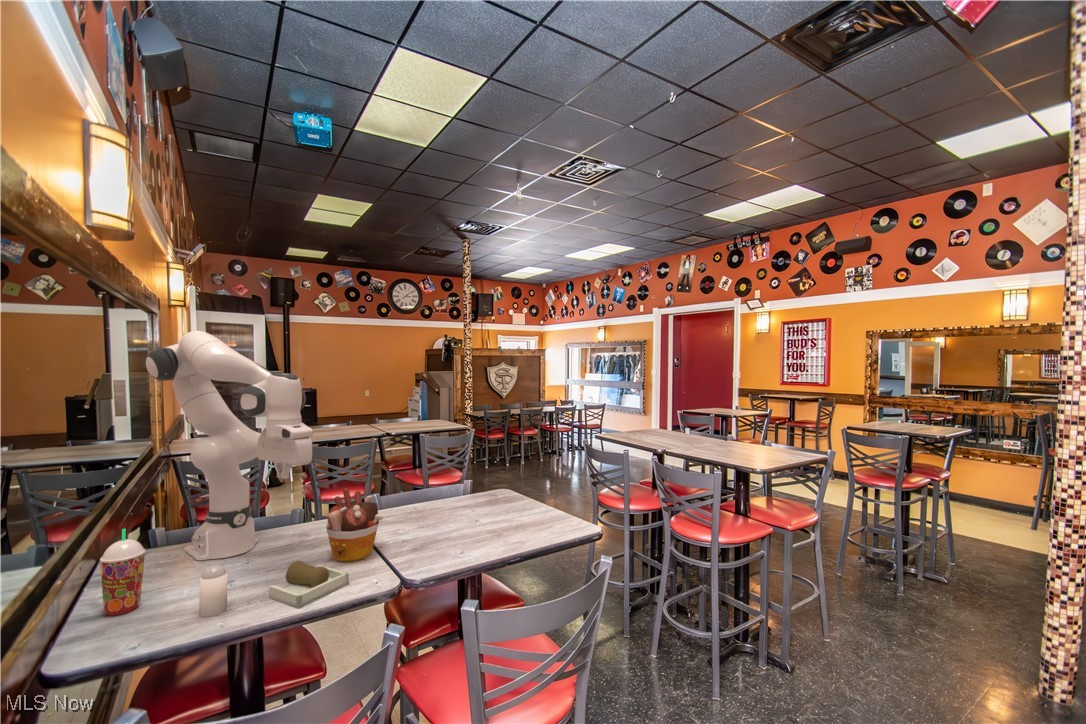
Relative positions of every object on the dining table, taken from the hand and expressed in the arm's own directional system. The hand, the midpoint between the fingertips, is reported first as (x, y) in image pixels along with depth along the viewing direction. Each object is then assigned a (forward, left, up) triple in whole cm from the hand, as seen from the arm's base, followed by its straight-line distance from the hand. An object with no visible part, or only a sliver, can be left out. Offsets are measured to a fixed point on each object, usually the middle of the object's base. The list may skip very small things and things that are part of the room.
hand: (282, 478), depth 130 cm
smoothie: (-20, -28, -29) cm, 45 cm away
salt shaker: (+1, -18, -29) cm, 34 cm away
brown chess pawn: (+5, +1, -26) cm, 26 cm away
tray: (+13, 0, -29) cm, 32 cm away
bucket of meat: (+3, +22, -29) cm, 37 cm away
